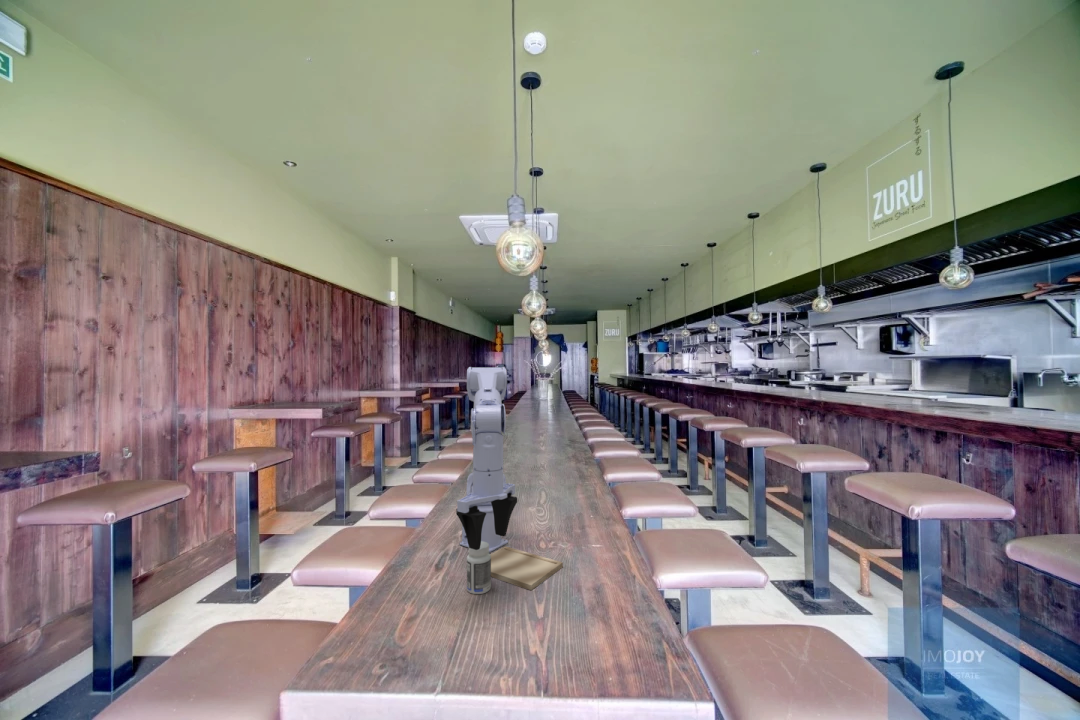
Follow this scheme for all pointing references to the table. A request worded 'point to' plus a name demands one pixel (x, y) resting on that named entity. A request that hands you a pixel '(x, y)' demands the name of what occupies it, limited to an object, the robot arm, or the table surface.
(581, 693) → the table surface
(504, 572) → the beech board
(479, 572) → the pill bottle
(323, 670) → the table surface
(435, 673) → the table surface
